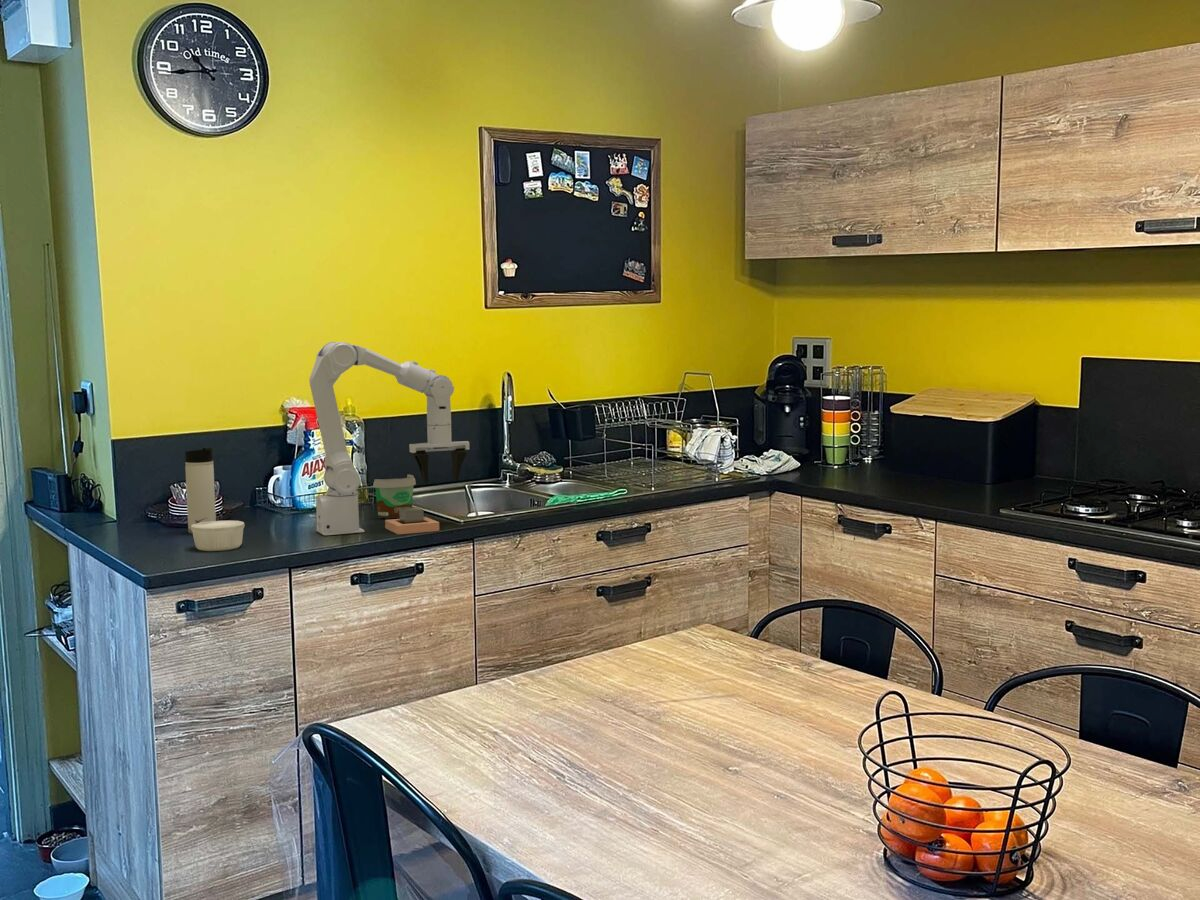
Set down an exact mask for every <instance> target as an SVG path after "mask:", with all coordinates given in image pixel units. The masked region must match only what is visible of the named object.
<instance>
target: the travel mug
mask: <svg viewBox="0 0 1200 900" xmlns="http://www.w3.org/2000/svg"><path fill="white" fill-rule="evenodd" d="M213 454H214V453H213V448H212V447H203V448H202V449H195V450H193V449H192V450H187V451H184V457H185V460H184V461H185V467H184V469H185V484H186V485H185V486H186V487H185V488H186V489H185V490H186V511H187V529H188V530H187V531H188V533H189V534H192V535H193V532H192V530H191V525H193V524H197V523H202V522H211V521H217V520H216V519H217V516H216V494H215V493H216V492H215V470H214V469H215V468H214V458H213V457H214V455H213Z"/></svg>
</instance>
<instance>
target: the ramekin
mask: <svg viewBox="0 0 1200 900" xmlns="http://www.w3.org/2000/svg"><path fill="white" fill-rule="evenodd" d="M244 528H245V522H244V521H241V520H216V521H211V522H202V523H197V524H193V525H191V530H192V532H193V534H192V536H193V540H194V545H195V546H194V547H195V548H196V549H197V550H198V551H204V552H216V551H217V552H218V551H229V550H230V551H231V550H235V549H238V548H240V546H241V545H242V544H243V538H244V537H243V535H244Z"/></svg>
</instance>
